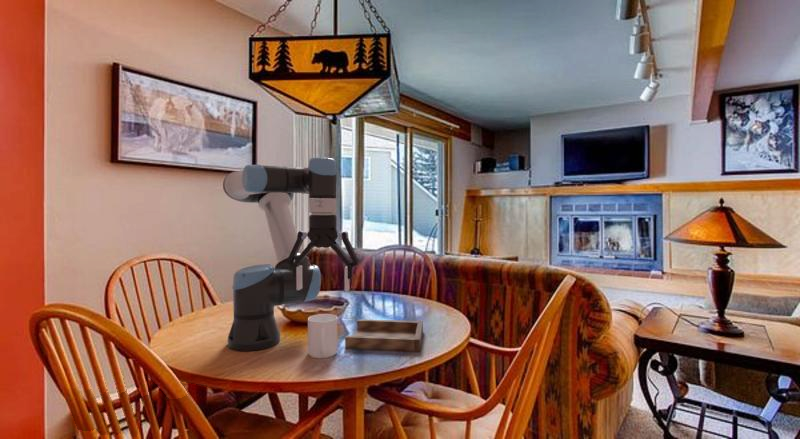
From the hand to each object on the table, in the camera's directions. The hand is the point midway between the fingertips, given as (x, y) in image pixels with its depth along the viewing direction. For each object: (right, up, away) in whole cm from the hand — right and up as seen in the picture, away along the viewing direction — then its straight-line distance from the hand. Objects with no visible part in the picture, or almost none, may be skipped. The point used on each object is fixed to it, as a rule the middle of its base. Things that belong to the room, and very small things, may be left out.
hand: (323, 290), depth 112 cm
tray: (+17, -18, +14) cm, 29 cm away
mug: (0, -19, +1) cm, 19 cm away
